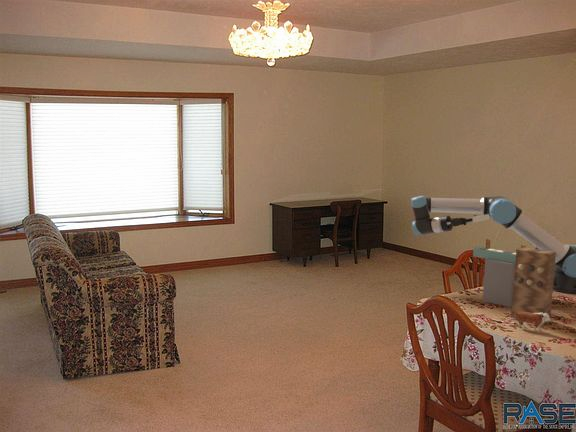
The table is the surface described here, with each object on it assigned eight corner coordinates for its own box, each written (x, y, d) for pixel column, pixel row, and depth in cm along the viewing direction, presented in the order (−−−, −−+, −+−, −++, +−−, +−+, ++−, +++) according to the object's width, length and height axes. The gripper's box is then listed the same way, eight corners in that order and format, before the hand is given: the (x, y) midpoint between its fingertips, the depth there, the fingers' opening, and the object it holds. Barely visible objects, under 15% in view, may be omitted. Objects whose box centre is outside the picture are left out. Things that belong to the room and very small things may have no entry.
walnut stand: (549, 321, 263) (556, 252, 258) (542, 325, 257) (549, 254, 252) (517, 313, 272) (522, 247, 268) (510, 317, 266) (515, 249, 262)
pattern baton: (526, 263, 281) (527, 254, 280) (522, 265, 278) (523, 255, 277) (476, 255, 297) (477, 246, 296) (472, 256, 294) (473, 247, 293)
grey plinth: (516, 303, 288) (519, 261, 285) (509, 306, 282) (512, 264, 279) (489, 297, 297) (492, 257, 294) (482, 301, 291) (485, 259, 288)
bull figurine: (548, 334, 245) (550, 315, 244) (513, 328, 252) (515, 309, 251) (550, 331, 249) (552, 312, 248) (516, 325, 256) (517, 306, 255)
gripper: (453, 229, 317) (494, 223, 305) (434, 233, 297) (477, 227, 285) (450, 215, 318) (491, 208, 305) (431, 218, 297) (474, 211, 285)
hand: (484, 217), depth 295 cm, fingers open, 13 cm apart
